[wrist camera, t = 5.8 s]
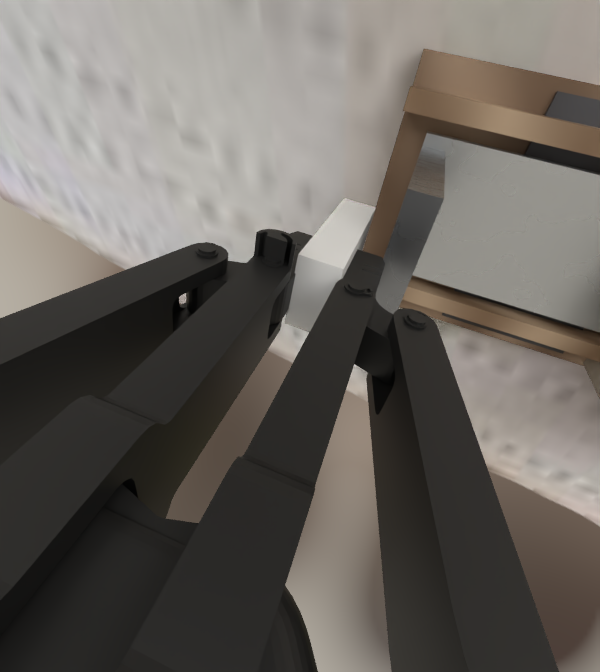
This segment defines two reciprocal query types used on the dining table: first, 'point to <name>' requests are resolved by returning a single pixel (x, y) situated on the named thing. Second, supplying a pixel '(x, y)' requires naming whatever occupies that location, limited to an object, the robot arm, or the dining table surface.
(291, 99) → the dining table surface
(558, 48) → the dining table surface
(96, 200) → the dining table surface
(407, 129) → the tunnel board
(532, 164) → the grey u-shaped piece
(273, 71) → the dining table surface
